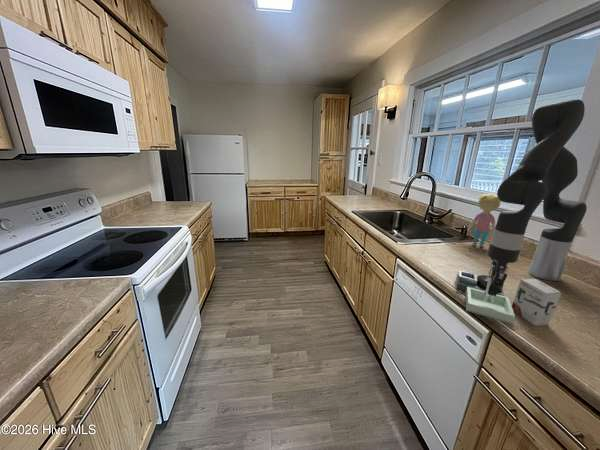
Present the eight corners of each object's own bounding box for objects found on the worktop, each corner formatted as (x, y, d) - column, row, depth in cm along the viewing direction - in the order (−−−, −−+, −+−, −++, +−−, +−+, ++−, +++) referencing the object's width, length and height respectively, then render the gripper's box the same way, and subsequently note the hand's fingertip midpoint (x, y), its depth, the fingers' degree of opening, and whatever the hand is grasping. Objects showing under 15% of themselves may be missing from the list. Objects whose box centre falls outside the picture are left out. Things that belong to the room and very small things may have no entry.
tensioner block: (498, 289, 94) (502, 276, 92) (502, 302, 86) (506, 288, 84) (456, 278, 101) (459, 266, 99) (455, 289, 93) (459, 277, 91)
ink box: (509, 308, 82) (519, 278, 79) (522, 308, 83) (533, 277, 79) (535, 326, 74) (547, 293, 71) (549, 325, 75) (562, 292, 71)
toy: (492, 247, 135) (507, 194, 126) (492, 252, 128) (508, 196, 119) (464, 241, 143) (476, 191, 134) (462, 246, 136) (475, 193, 127)
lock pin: (494, 299, 82) (502, 273, 79) (495, 304, 80) (503, 277, 76) (482, 296, 84) (489, 270, 81) (482, 301, 81) (490, 274, 78)
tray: (506, 304, 84) (508, 297, 84) (512, 324, 75) (515, 316, 74) (465, 293, 90) (467, 286, 90) (466, 310, 81) (468, 303, 80)
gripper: (526, 255, 68) (509, 307, 73) (516, 240, 79) (502, 286, 85) (493, 249, 72) (478, 299, 77) (488, 235, 83) (476, 280, 88)
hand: (491, 292), depth 81 cm, fingers closed on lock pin, 3 cm apart
